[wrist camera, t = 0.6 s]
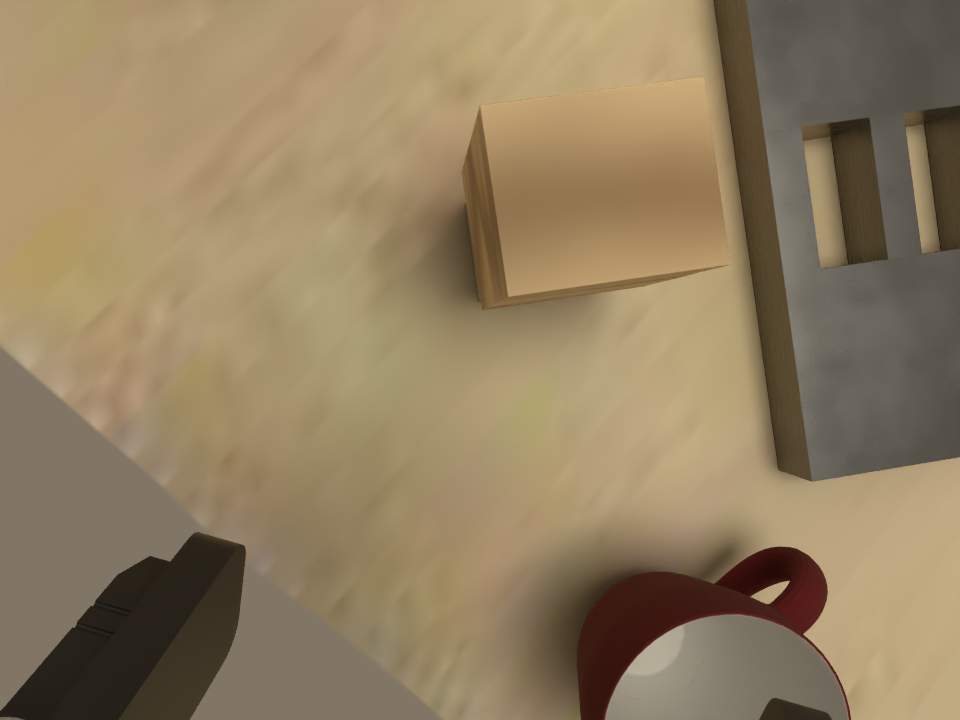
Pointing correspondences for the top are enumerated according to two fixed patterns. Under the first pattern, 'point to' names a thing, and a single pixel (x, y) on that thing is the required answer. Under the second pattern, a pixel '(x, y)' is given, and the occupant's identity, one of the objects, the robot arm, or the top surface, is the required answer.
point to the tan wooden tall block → (592, 192)
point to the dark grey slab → (850, 225)
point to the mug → (708, 645)
